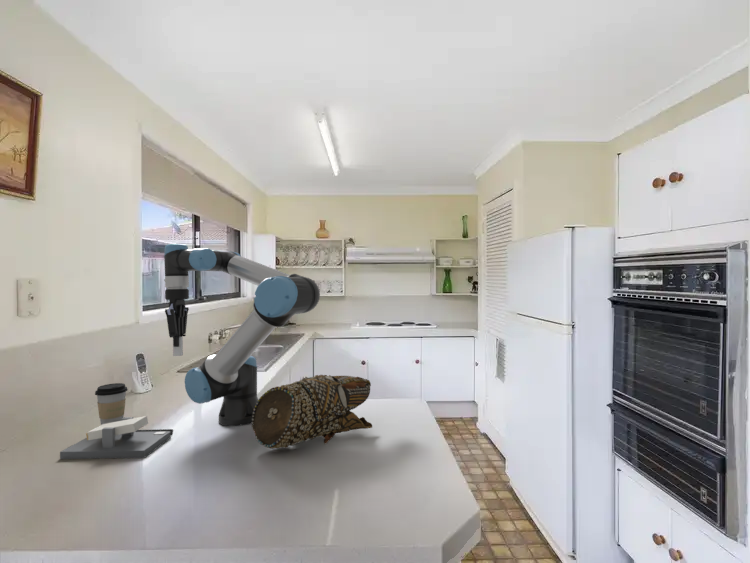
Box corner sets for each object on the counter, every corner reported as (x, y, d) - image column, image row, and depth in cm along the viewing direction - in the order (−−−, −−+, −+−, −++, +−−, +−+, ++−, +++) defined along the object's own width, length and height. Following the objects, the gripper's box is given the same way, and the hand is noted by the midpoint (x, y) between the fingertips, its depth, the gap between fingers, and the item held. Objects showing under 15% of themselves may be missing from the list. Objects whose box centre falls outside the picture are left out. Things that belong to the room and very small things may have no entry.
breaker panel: (170, 437, 131) (170, 414, 131) (144, 457, 116) (144, 431, 116) (96, 438, 131) (95, 415, 131) (60, 458, 116) (59, 432, 116)
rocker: (148, 423, 127) (146, 415, 127) (135, 431, 120) (133, 423, 120) (103, 431, 127) (101, 424, 127) (87, 440, 120) (85, 432, 120)
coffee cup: (112, 435, 133) (111, 390, 133) (88, 434, 135) (87, 389, 135) (134, 425, 143) (134, 383, 143) (111, 424, 144) (111, 382, 145)
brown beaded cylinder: (329, 379, 152) (244, 381, 127) (370, 358, 140) (286, 355, 115) (342, 445, 142) (253, 461, 117) (388, 428, 130) (300, 443, 105)
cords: (174, 432, 136) (174, 428, 136) (170, 435, 133) (170, 431, 133) (123, 433, 136) (123, 429, 136) (118, 436, 133) (118, 432, 133)
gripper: (175, 288, 150) (176, 352, 149) (156, 288, 137) (157, 359, 136) (195, 288, 150) (196, 352, 149) (179, 288, 137) (180, 358, 136)
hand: (178, 355), depth 143 cm, fingers closed
